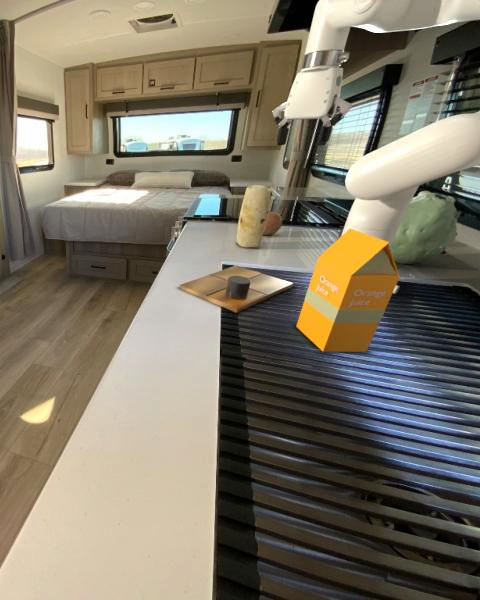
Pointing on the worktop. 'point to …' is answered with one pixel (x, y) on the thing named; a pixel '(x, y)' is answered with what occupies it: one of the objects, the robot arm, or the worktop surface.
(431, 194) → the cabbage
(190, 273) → the worktop surface
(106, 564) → the worktop surface
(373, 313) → the orange juice
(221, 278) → the grid board
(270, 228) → the onion
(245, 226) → the food model
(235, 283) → the black ridged cylinder
